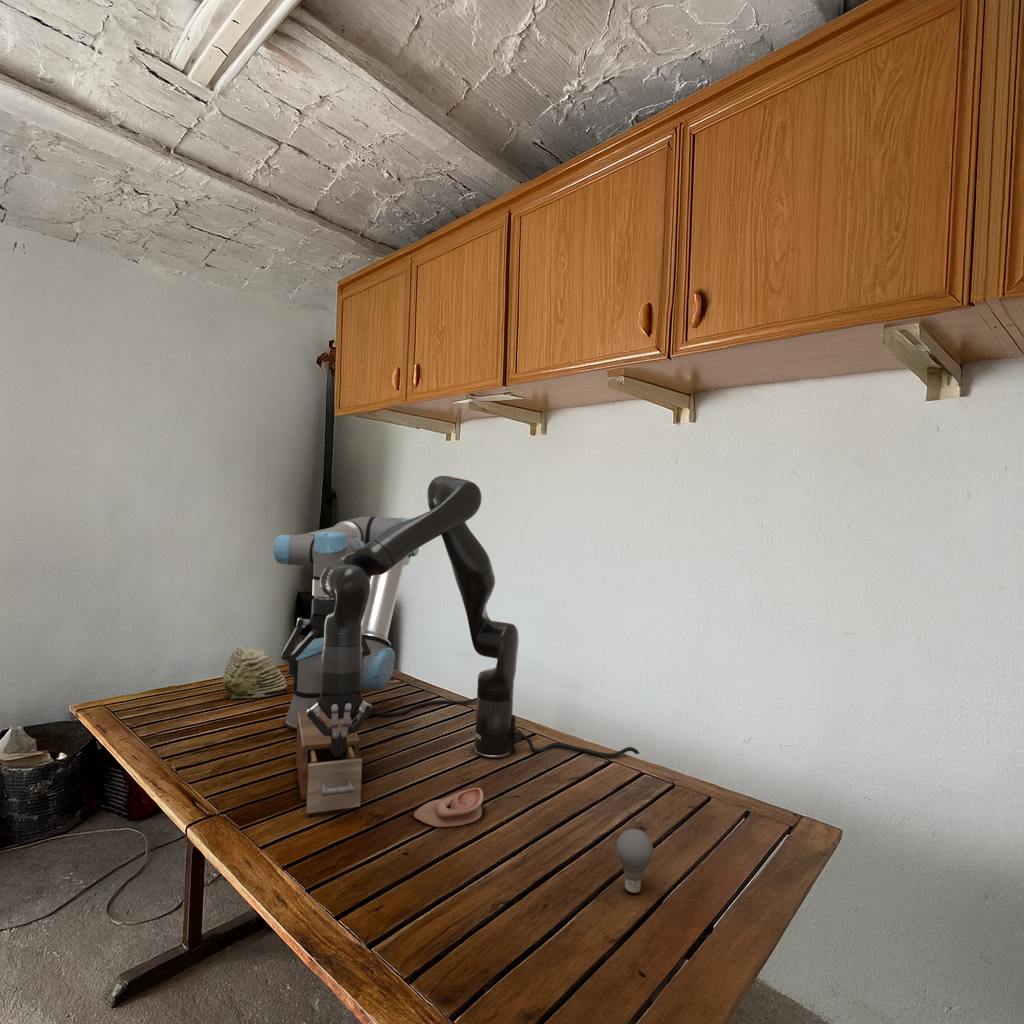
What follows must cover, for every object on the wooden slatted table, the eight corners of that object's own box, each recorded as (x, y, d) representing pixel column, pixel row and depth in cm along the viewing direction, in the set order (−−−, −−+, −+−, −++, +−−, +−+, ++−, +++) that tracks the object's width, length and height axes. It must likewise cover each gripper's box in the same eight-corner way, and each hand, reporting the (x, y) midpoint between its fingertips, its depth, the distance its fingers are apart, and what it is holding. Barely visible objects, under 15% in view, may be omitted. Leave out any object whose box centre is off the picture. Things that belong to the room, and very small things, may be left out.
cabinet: (357, 793, 136) (359, 740, 136) (300, 800, 132) (303, 745, 132) (345, 753, 156) (346, 707, 156) (295, 759, 152) (297, 711, 152)
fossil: (218, 695, 195) (220, 647, 195) (278, 685, 208) (279, 640, 207) (228, 703, 189) (230, 653, 188) (289, 692, 201) (290, 645, 201)
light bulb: (610, 879, 108) (613, 822, 108) (644, 879, 109) (647, 822, 109) (619, 902, 102) (622, 840, 102) (655, 901, 103) (658, 840, 103)
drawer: (364, 819, 123) (366, 771, 123) (308, 827, 119) (310, 778, 119) (347, 765, 147) (349, 725, 147) (300, 771, 143) (302, 729, 143)
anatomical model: (408, 802, 124) (427, 778, 135) (407, 822, 124) (427, 796, 136) (473, 812, 122) (488, 786, 133) (473, 832, 122) (487, 805, 133)
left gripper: (272, 600, 141) (269, 695, 141) (384, 598, 150) (381, 687, 151) (272, 595, 148) (268, 685, 148) (379, 594, 157) (375, 678, 158)
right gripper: (307, 673, 117) (303, 766, 117) (379, 669, 122) (375, 758, 122) (304, 663, 124) (301, 751, 124) (372, 659, 129) (369, 744, 129)
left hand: (325, 686), depth 150 cm, fingers open, 13 cm apart
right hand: (338, 754), depth 123 cm, fingers closed
